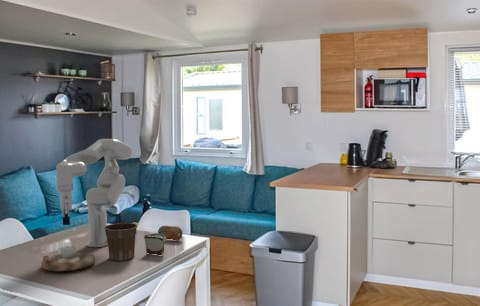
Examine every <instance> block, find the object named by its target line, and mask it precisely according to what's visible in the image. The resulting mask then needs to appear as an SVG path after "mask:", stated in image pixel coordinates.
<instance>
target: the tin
mask: <svg viewBox="0 0 480 306" xmlns="http://www.w3.org/2000/svg"><path fill="white" fill-rule="evenodd" d="M157 233H159V234H164V235H165V237H166V239H173V240H178V241H180V240H182V238H183V230H182V229H181V228H180V227H179V226H175V225H174V226H173V225H162V226H160V227H159V228H158V230H157Z"/></svg>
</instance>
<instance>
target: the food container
mask: <svg viewBox="0 0 480 306" xmlns="http://www.w3.org/2000/svg"><path fill="white" fill-rule="evenodd" d="M143 240H144V241H145V251H146V254H147V253H149V254H157V255H163V254H164V255H165V240H166V237H165V235H164V234H159V233H158V232H157V233H146V234H144V236H143ZM164 255H163V256H164Z"/></svg>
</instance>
